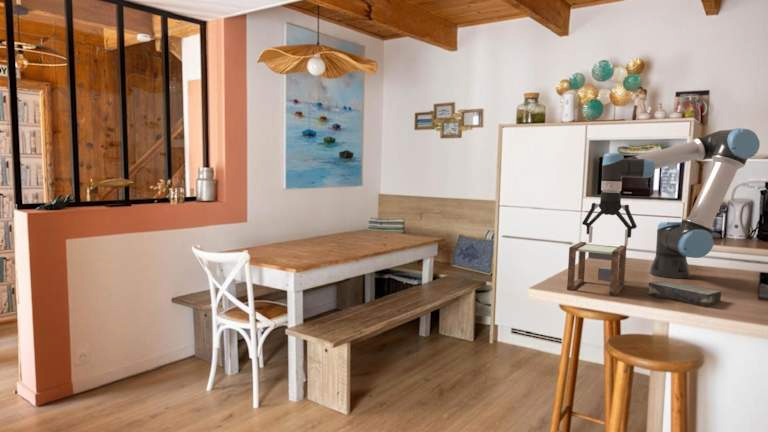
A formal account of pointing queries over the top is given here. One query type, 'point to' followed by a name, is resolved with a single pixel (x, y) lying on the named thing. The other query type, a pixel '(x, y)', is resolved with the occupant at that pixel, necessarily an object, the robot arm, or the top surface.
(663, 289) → the block
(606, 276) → the grey cube
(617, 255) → the walnut frame
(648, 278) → the top surface
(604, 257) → the hatch
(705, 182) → the robot arm
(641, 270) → the top surface
